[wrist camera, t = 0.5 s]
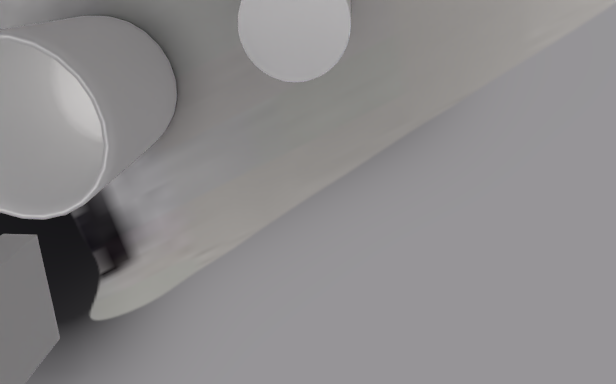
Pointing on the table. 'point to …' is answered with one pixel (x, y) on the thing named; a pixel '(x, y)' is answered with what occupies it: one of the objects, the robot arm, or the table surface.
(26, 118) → the mug
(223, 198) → the table surface
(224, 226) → the table surface
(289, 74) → the tube
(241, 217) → the table surface
